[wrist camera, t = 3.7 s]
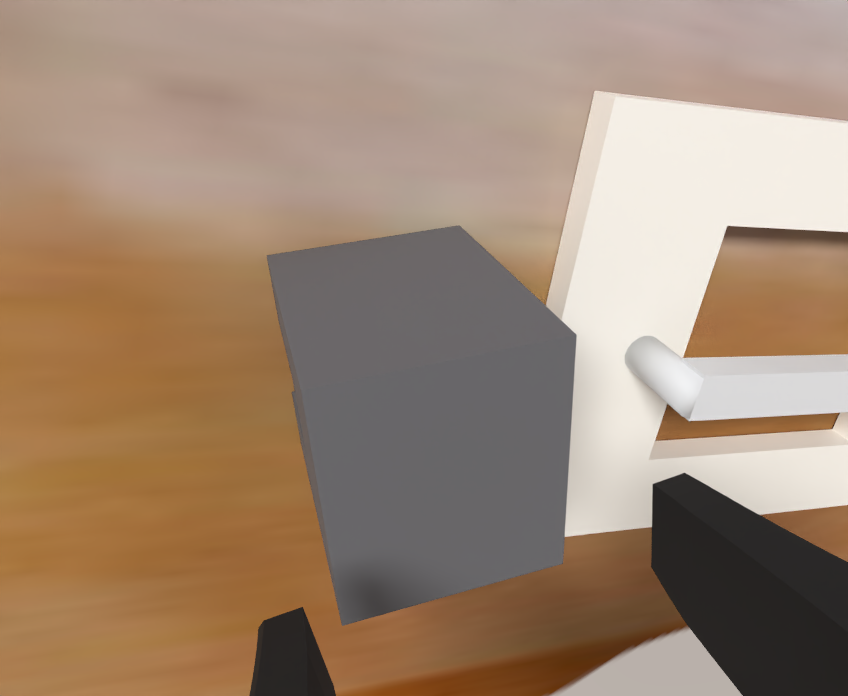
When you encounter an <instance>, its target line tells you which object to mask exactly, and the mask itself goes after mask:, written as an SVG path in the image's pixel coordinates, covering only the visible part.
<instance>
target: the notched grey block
mask: <svg viewBox="0 0 848 696" xmlns="http://www.w3.org/2000/svg"><path fill="white" fill-rule="evenodd" d="M267 260H268V265H269V270H270V276H271V281H272V287H273V292H274V298H275V303H276V309H277V314H278V320H279V324H280V328H281V332H282V337H283V341H284V345H285V349H286V353H287V357H288V361H289V366H290V370H291V374H292V378H293V384H294V389H295V391H294V392H292V396H293V402H294V407H295V412H296V418H297V423H298V429H299V434H300V440H301V445H302V450H303V454H304V458H305V463H306V467H307V472H308V476H309V481H310V485H311V490H312V494H313V498H314V503H315V507H316V512H317V516H318V521H319V525H320V530H321V534H322V538H323V543H324V547H325V552H326V556H327V561H328V565H329V570H330V574H331V578H332V583H333V587H334V592H335V596H336V601H337V605H338V610H339V614H340V618H341V623H342V626H343V625H347V624H350V623H354V622H357V621H361V620H364V619H368V618H371V617H375V616H379V615H382V614H386V613H389V612H393V611H396V610H400V609H403V608H407V607H411V606H414V605H418V604H421V603H425V602H428V601H432V600H435V599H439V598H442V597H446V596H450V595H453V594H457V593H460V592H464V591H467V590H471V589H474V588H478V587H482V586H485V585H489V584H492V583H496V582H499V581H503V580H506V579H510V578H513V577H517V576H521V575H524V574H528V573H531V572H535V571H538V570H542V569H545V568H549V567H553V566H556V565H560V564H563V554H564V537H565V521H566V504H567V487H568V471H569V454H570V437H571V421H572V404H573V387H574V371H575V354H576V337H577V335H576V334H575V333H574V332H573V331H572V330H571V329H570V328H569V327H568V326H567V325H566V324H565V323H564V322H562V321H561V320H560V319H559V318H558V317H557V316H556V315H555V314H554V313H553V312H552V311H551V310H550V309H548V308H547V307H546V306H545V305H544V304H543V303H542V302H541V301H540V300H539V299H538V298H537V297H536V296H535V295H533V294H532V293H531V292H530V291H529V290H528V289H527V288H526V287H525V286H524V285H523V284H522V283H521V282H519V281H518V280H517V279H516V278H515V277H514V276H513V275H512V274H511V273H510V272H509V271H508V270H507V269H505V268H504V267H503V266H502V265H501V264H500V263H499V262H498V261H497V260H496V259H495V258H494V257H493V256H492V255H490V254H489V253H488V252H487V251H486V250H485V249H484V248H483V247H482V246H481V245H480V244H479V243H478V242H476V241H475V240H474V239H473V238H472V237H471V236H470V235H469V234H468V233H467V232H466V231H465V230H464V229H463V228H461V227H460V226H453V227H447V228H440V229H434V230H427V231H421V232H415V233H408V234H402V235H395V236H389V237H382V238H376V239H370V240H363V241H357V242H350V243H344V244H338V245H331V246H325V247H318V248H312V249H305V250H299V251H293V252H286V253H280V254H273V255H267Z"/></svg>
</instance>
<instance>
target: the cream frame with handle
mask: <svg viewBox="0 0 848 696" xmlns="http://www.w3.org/2000/svg"><path fill="white" fill-rule="evenodd" d="M727 226H740V227H760V228H779V229H798V230H817V231H836V232H848V121H844V120H836V119H828V118H819V117H811V116H803V115H794V114H786V113H777V112H769V111H761V110H752V109H744V108H736V107H727V106H719V105H710V104H702V103H694V102H685V101H677V100H669V99H660V98H652V97H643V96H635V95H627V94H618V93H610V92H602V91H595V92H594V96H593V101H592V105H591V110H590V114H589V118H588V123H587V127H586V132H585V136H584V140H583V145H582V149H581V153H580V158H579V162H578V167H577V171H576V175H575V180H574V184H573V189H572V193H571V197H570V202H569V206H568V211H567V215H566V219H565V224H564V228H563V233H562V237H561V241H560V246H559V250H558V254H557V259H556V263H555V268H554V272H553V276H552V281H551V285H550V290H549V294H548V298H547V303H546V307H547V308H548V309H550V310H551V311H552V312H553V313H554V314H555V315H556V316H557V317H558V318H559V319H560V320H561V321H562V322H564V323H565V324H566V325H567V326H568V327H569V328H570V329H571V330H572V331H573V332H574V333H575V334H576V335H577V337H576V354H575V371H574V387H573V404H572V421H571V437H570V454H569V471H568V487H567V504H566V521H565V537H567V536H575V535H584V534H593V533H602V532H611V531H620V530H629V529H637V528H646V527H652V491H653V484H654V483H657V482H660V481H663V480H665V479H668V478H671V477H674V476H677V475H680V474H682V473H686V474H688V475H690V476H692V477H693V478H695V479H697V480H699V481H701V482H702V483H704V484H706V485H708V486H709V487H711V488H713V489H715V490H716V491H718V492H720V493H722V494H723V495H725V496H727V497H729V498H730V499H732V500H734V501H736V502H737V503H739V504H741V505H743V506H744V507H746V508H748V509H750V510H751V511H753V512H755V513H757V514H758V515H762V514H770V513H779V512H788V511H797V510H806V509H815V508H824V507H832V506H841V505H848V354H845V355H799V356H753V357H708V358H683V356H684V353H685V350H686V347H687V344H688V341H689V338H690V335H691V332H692V329H693V326H694V323H695V320H696V317H697V314H698V311H699V308H700V305H701V302H702V299H703V296H704V294H705V291H706V288H707V285H708V282H709V279H710V276H711V273H712V270H713V267H714V264H715V261H716V258H717V255H718V252H719V249H720V246H721V243H722V240H723V237H724V234H725V231H726V228H727ZM667 403H668V404H669V405H670V406H671V407H672V408H673V409H674V410H675V411H677V412H678V413H679V414H680V415H681V416H683V417H685V418H686V419H687V420H688V421H700V420H718V419H736V418H753V417H771V416H788V415H806V414H824V413H840V414H839V416H838V418H837V420H836V422H835V425H834V427H833V429H829V430H814V431H799V432H784V433H769V434H754V435H739V436H724V437H709V438H694V439H679V440H664V441H655V439H656V436H657V433H658V430H659V427H660V424H661V421H662V418H663V415H664V412H665V409H666V406H667Z"/></svg>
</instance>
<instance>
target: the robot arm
mask: <svg viewBox="0 0 848 696" xmlns="http://www.w3.org/2000/svg"><path fill="white" fill-rule="evenodd" d="M651 567H652V569H653V570H654V572H655V574H656V575H657V577H658V579H659V580H660V582H661V584H662V586H663V587H664V589H665V591H666V592H667V594H668V596H669V597H670V599H671V600H672V602H673V603H674V605H675V607H676V608H677V610H678V611H679V613H680V615H681V616H682V618H683V619H684V621H685V622H686V624H687V625H688V626H689V628H690V629H691V630H692V631H693V633H694V634H695V635H696V637H697V638H698V639H699V640H700V642H701V643H702V644H703V646H704V647H705V648H706V649H707V651H708V652H709V653H710V655H711V656H712V657H713V658H714V659H715V661H716V662H717V664H718V665H719V666H720V667H721V669H722V670H723V671H724V672H725V674H726V675H727V676H728V677H729V679H730V680H731V681H732V683H733V684H734V685H735V686H736V687H737V689H738V690H739V691H740V693H741V694H742V695H743V696H848V562H846V561H844V560H842V559H840V558H838V557H836V556H835V555H833V554H831V553H829V552H827V551H825V550H823V549H821V548H819V547H817V546H815V545H813V544H812V543H810V542H808V541H806V540H804V539H802V538H800V537H798V536H797V535H795V534H793V533H791V532H789V531H787V530H785V529H784V528H782V527H780V526H778V525H776V524H775V523H773V522H771V521H769V520H767V519H766V518H764V517H762V516H760V515H758V514H757V513H755V512H753V511H751V510H750V509H748V508H746V507H744V506H743V505H741V504H739V503H737V502H736V501H734V500H732V499H730V498H729V497H727V496H725V495H723V494H722V493H720V492H718V491H716V490H715V489H713V488H711V487H709V486H708V485H706V484H704V483H702V482H701V481H699V480H697V479H695V478H693V477H692V476H690V475H688V474H686V473H682V474H680V475H677V476H674V477H671V478H668V479H665V480H663V481H660V482H657V483H654V484H653V491H652V562H651ZM250 696H336V694H335V690H334V686H333V683H332V681H331V678H330V675H329V673H328V670H327V668H326V665H325V663H324V660H323V658H322V655H321V652H320V650H319V647H318V645H317V642H316V640H315V637H314V635H313V632H312V629H311V627H310V624H309V622H308V619H307V617H306V614H305V612H304V609H303V607H301V608H298V609H296V610H293V611H290V612H287V613H284V614H281V615H278V616H276V617H273V618H270V619H267V620H264V621H263V623H262V624H261V625H260V627H259V630H258V642H257V651H256V659H255V666H254V673H253V679H252V685H251V691H250Z"/></svg>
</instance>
